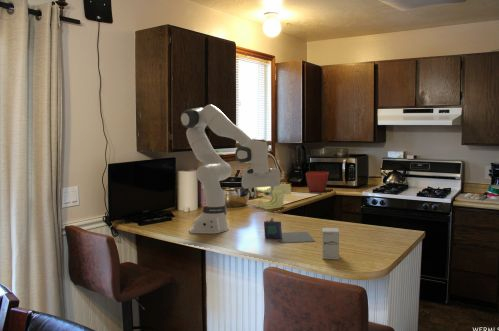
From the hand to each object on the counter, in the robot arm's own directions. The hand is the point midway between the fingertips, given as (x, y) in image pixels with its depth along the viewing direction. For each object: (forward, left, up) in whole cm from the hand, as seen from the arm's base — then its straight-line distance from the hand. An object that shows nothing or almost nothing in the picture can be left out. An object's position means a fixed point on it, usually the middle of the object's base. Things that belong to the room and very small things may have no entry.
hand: (261, 195), depth 229 cm
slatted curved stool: (+15, +89, -23) cm, 93 cm away
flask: (+6, -1, -23) cm, 23 cm away
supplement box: (+27, -38, -23) cm, 52 cm away
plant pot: (+65, +155, -23) cm, 169 cm away
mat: (+17, -1, -23) cm, 28 cm away
